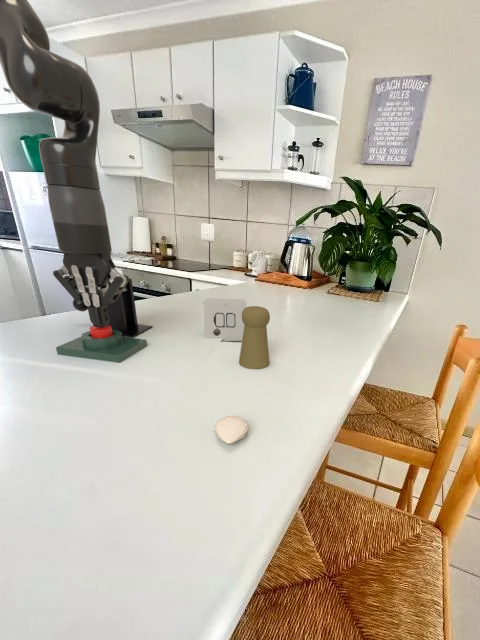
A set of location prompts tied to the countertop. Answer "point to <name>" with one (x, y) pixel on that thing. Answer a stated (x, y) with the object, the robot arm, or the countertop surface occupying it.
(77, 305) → the switch lever
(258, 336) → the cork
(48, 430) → the countertop surface
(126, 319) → the switch bracket
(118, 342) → the button block
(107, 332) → the push button
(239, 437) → the seashell
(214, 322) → the electrical switch
